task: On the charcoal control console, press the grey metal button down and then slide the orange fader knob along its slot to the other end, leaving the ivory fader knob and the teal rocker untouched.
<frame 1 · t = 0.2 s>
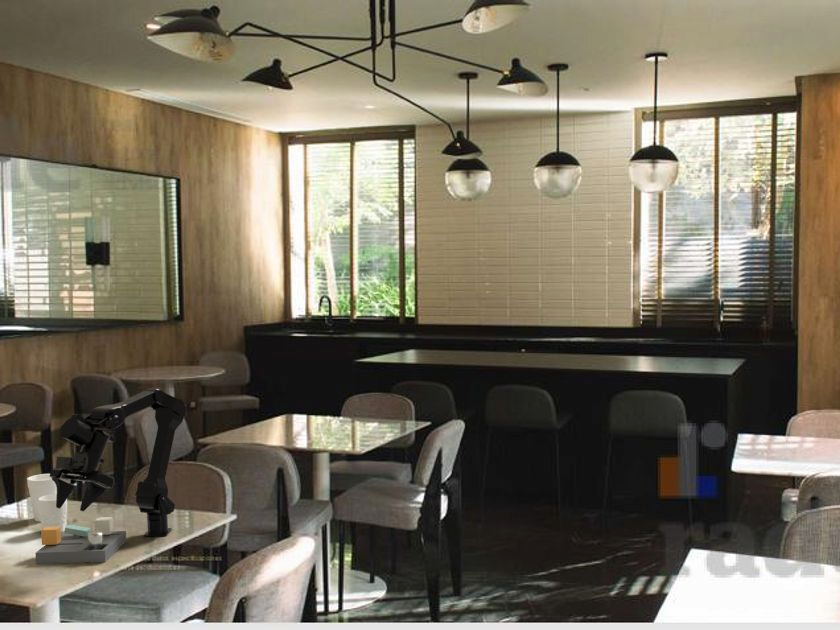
hand: (69, 509, 236), 15 cm above the table, tool tilted 30°, fingers open, 9 cm apart
foam cup: (45, 519, 284), on the table
white cup: (54, 531, 270), on the table
rocker teal: (77, 530, 253), point 5 cm above the table, hinge at -12.0°
console: (82, 552, 248), on the table
fader orange: (51, 535, 246), point 5 cm above the table, slide at 0.0 cm
fader ivory: (104, 526, 254), point 5 cm above the table, slide at 0.0 cm
button grey: (95, 540, 243), point 5 cm above the table, slide at 0.0 cm
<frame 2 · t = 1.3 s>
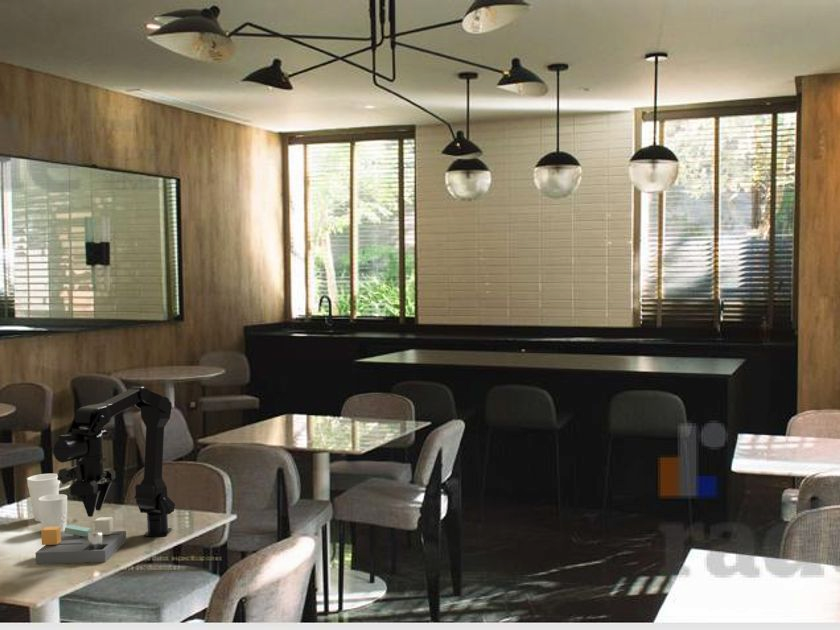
hand: (94, 513, 242), 12 cm above the table, tool pointing down, fingers open, 6 cm apart
nothing on the table moved.
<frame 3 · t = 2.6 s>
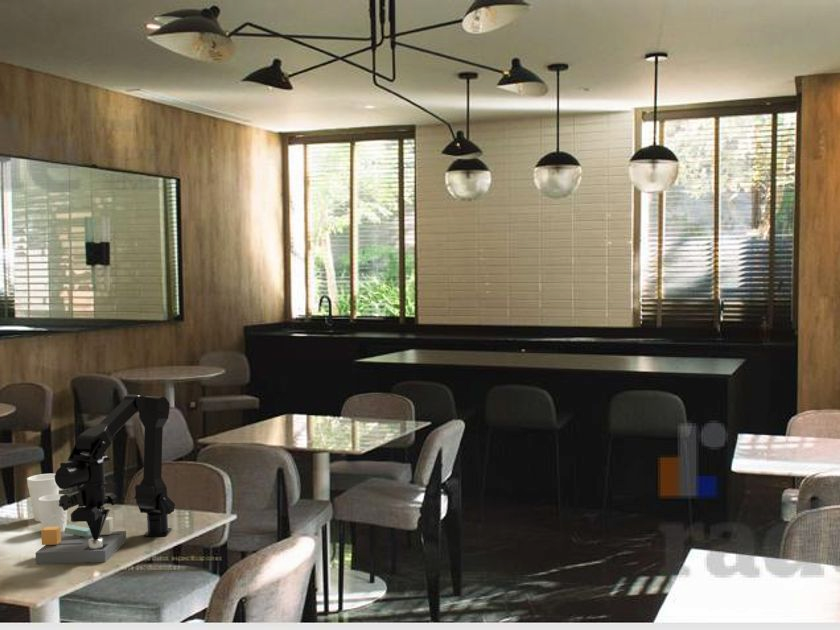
hand: (95, 539, 243), 5 cm above the table, tool pointing down, fingers closed, pressing on button grey
button grey: (95, 546, 243), point 3 cm above the table, slide at -1.7 cm, touching gripper
everything else where it was.
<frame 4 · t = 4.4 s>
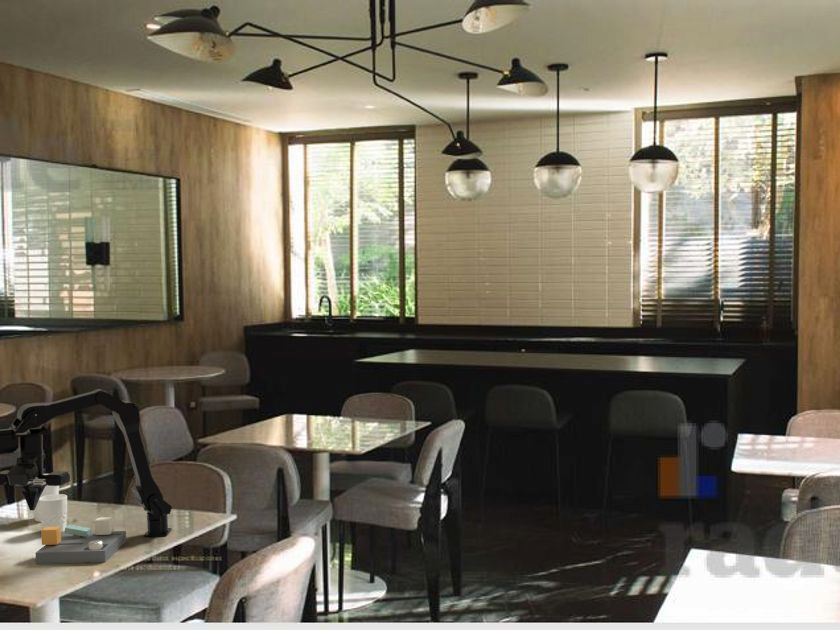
hand: (32, 510, 245), 13 cm above the table, tool pointing down, fingers closed
button grey: (96, 549, 243), point 2 cm above the table, slide at -2.4 cm
everything else where it was.
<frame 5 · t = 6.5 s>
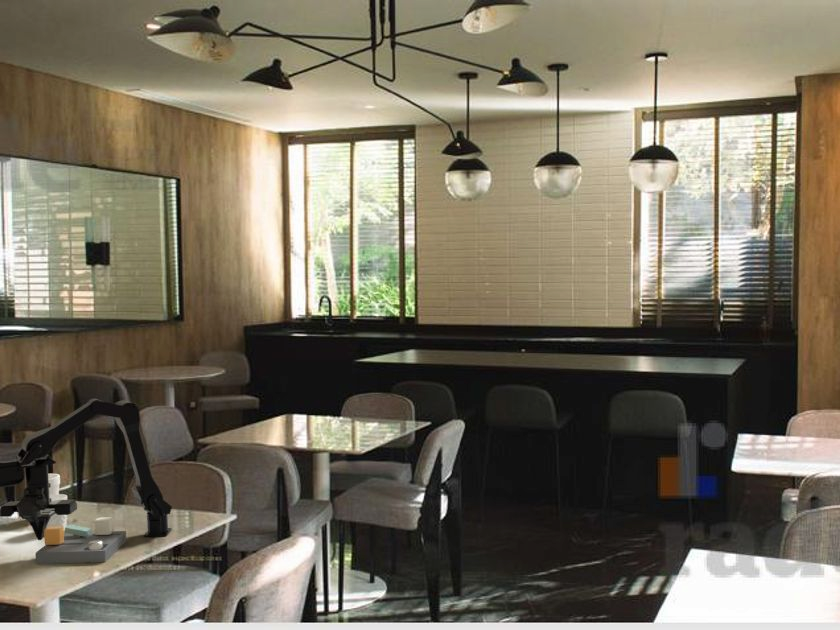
hand: (40, 539, 246), 4 cm above the table, tool pointing down, fingers closed
fader orange: (54, 535, 246), point 5 cm above the table, slide at 0.8 cm, touching gripper
everything else where it was.
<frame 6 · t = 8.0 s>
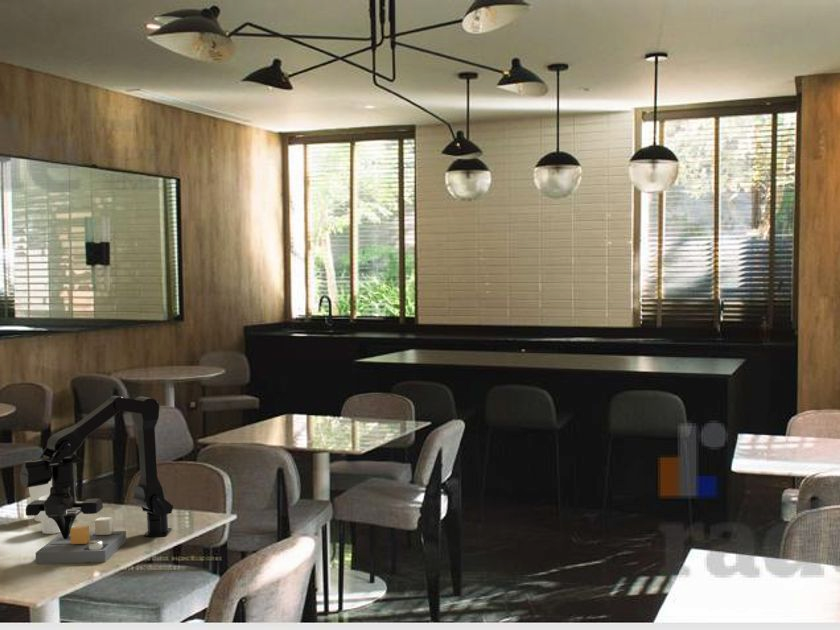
hand: (65, 538, 246), 4 cm above the table, tool pointing down, fingers closed
fader orange: (80, 534, 246), point 5 cm above the table, slide at 7.7 cm, touching gripper
everything else where it was.
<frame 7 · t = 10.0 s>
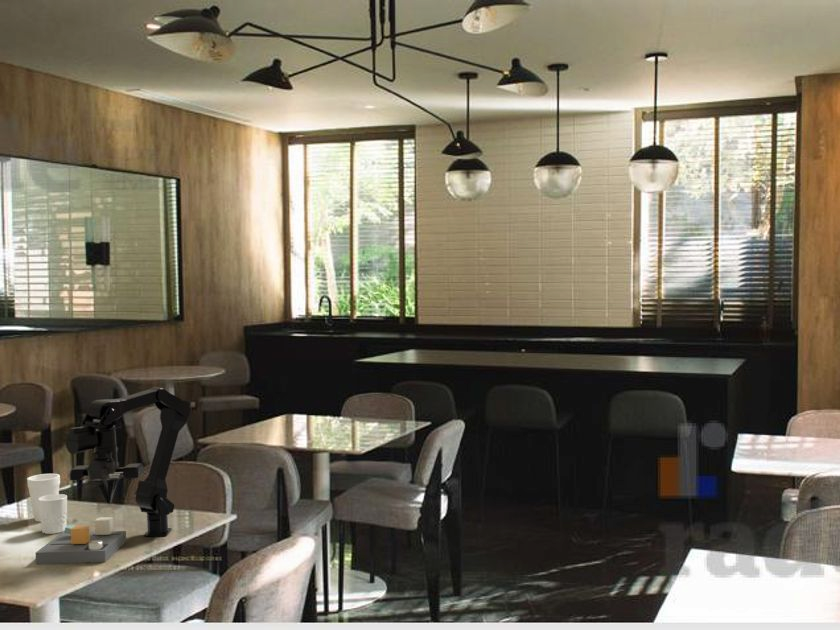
hand: (109, 502, 251), 13 cm above the table, tool pointing down, fingers closed
fader orange: (80, 534, 246), point 5 cm above the table, slide at 7.8 cm
everything else where it was.
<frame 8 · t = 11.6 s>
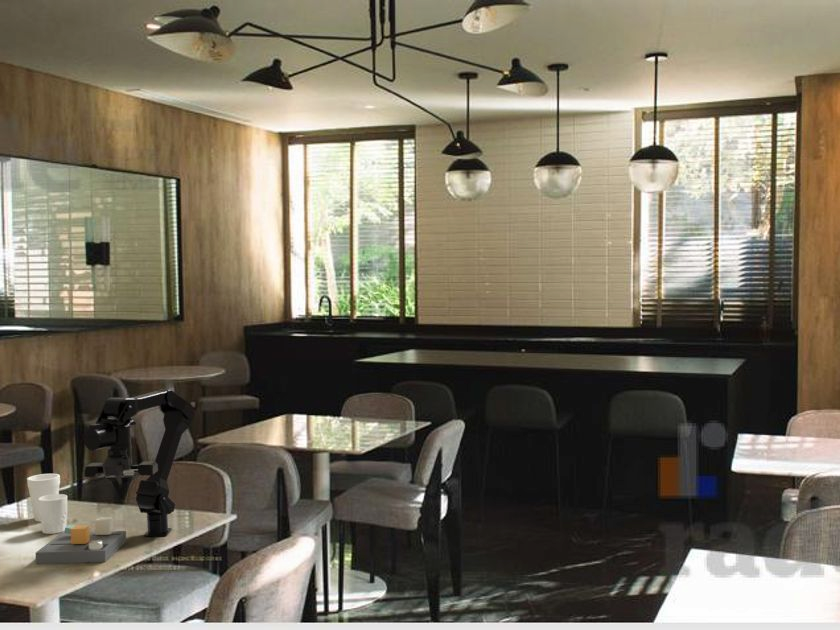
hand: (122, 500, 252), 13 cm above the table, tool pointing down, fingers closed
nothing on the table moved.
at the end: fader orange slide at 7.8 cm; button grey slide at -2.4 cm; fader ivory slide at 0.0 cm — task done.
